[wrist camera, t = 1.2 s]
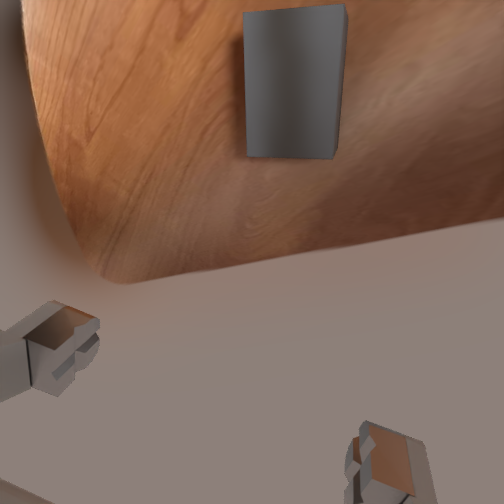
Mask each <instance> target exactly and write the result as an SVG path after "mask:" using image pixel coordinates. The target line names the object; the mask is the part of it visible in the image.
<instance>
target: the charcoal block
mask: <svg viewBox="0 0 504 504" xmlns="http://www.w3.org/2000/svg"><path fill="white" fill-rule="evenodd" d="M347 30H348V15H347V11H346V7H345V4H335V5H324V6H312V7H301V8H289V9H278V10H266V11H255V12H243V33H244V69H245V105H246V142H247V157H272V158H304V159H333V157H334V155H335V153H336V151H337V148H338V138H339V126H340V114H341V102H342V90H343V78H344V66H345V54H346V42H347Z"/></svg>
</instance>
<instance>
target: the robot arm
mask: <svg viewBox="0 0 504 504" xmlns="http://www.w3.org/2000/svg"><path fill="white" fill-rule="evenodd" d="M99 328H100V320H99V319H98V318H96V317H94V316H92V315H89V314H87V313H85V312H82V311H80V310H77V309H75V308H73V307H70V306H67V305H65V304H62V303H60V302H57V301H49V302H47V303H46V304H44V305H42V306H41V307H40V308H38V309H37V310H35V311H34V312H32V313H31V314H29V315H28V316H26V317H25V318H23V319H22V320H21V321H19V322H18V323H16V324H15V325H13V326H12V327H10V328H9V329H7V330H6V331H2V330H0V402H3V401H5V400H7V399H9V398H11V397H13V396H16V395H18V394H20V393H22V392H24V391H26V390H29V389H30V388H31V387H33V388H35V389H38V390H41V391H44V392H46V393H48V394H51V395H54V396H56V397H58V396H59V395H60V394H61V393H62V392H63V391H64V390H65V389H66V388H67V387H68V386H69V385H70V384H71V383H72V382H73V381H74V380H75V372H77V371H80V370H82V369H85V368H86V367H87V366H88V365H89V364H90V363H91V362H92V360H93V359H94V357H95V355H96V354H97V351H98V347H99V341H100V340H99V337H98V335H97V334H96V331H97V330H98V329H99ZM345 476H346V478H347V480H348V482H349V484H348V486H347V488H346V489H345V491H344V504H438V503H437V499H436V494H435V489H434V485H433V480H432V475H431V471H430V466H429V462H428V458H427V453H426V448H425V445H424V443H423V442H422V441H420V440H417V439H414V438H412V437H409V436H406V435H404V434H401V433H399V432H396V431H393V430H390V429H388V428H385V427H382V426H380V425H377V424H374V423H372V422H369V421H365V422H363V423H362V425H361V426H360V428H359V436H358V437H356V438H353V439H352V441H351V443H350V445H349V447H348V451H347V454H346V459H345ZM0 504H54V503H52V502H50V501H48V500H46V499H44V498H42V497H39V496H37V495H35V494H33V493H31V492H28V491H26V490H24V489H22V488H20V487H18V486H16V485H14V484H12V483H10V482H7V481H5V480H3V479H1V478H0Z"/></svg>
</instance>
